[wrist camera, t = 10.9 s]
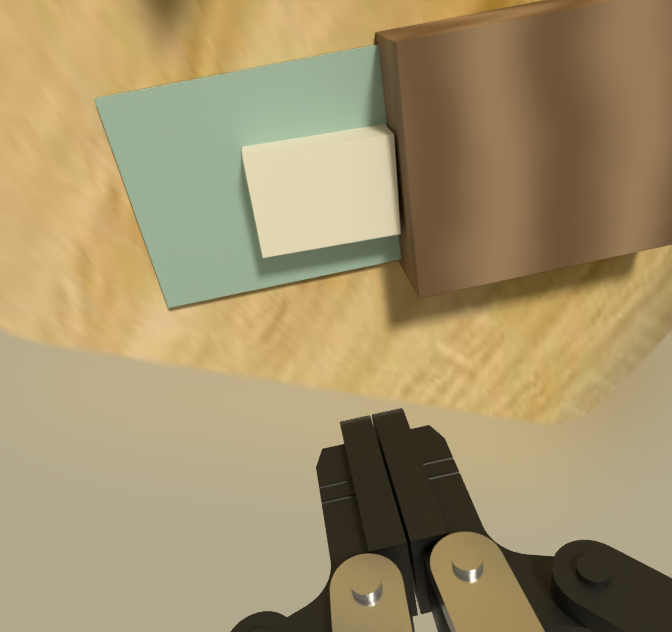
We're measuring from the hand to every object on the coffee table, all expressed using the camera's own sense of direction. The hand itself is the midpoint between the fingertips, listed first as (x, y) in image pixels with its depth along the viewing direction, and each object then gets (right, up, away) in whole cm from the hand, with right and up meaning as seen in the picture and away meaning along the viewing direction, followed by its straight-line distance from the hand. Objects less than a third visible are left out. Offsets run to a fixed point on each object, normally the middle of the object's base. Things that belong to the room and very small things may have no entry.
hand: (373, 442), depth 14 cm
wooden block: (+9, +12, +17) cm, 23 cm away
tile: (-2, +10, +16) cm, 19 cm away
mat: (-4, +10, +16) cm, 19 cm away
